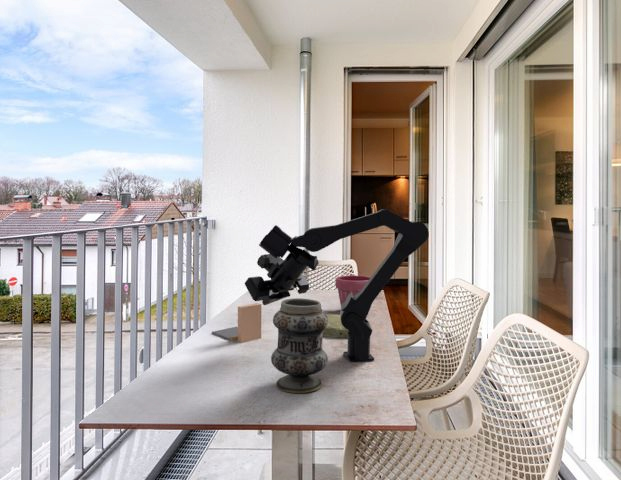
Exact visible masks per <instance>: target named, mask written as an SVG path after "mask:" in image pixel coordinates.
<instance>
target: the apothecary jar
mask: <svg viewBox="0 0 621 480" xmlns="http://www.w3.org/2000/svg"><path fill="white" fill-rule="evenodd" d="M326 314H327V313H325V311H323V309H322V304H321V301H319V300H315V299H311V298H305V297H304V298H303V297H300V298H297V297H296V298H293V297H292V298H285V299H282V301H281V303H280V308H279V310H278V311H276V313H274V315H273V317H272V323H273V326H274V327H275V328H277V331H278V335H277V348H276V349H274V350H273V352H272V353H271V357H270V359H271V361H270V362H271V364H272V366H273V367H274V368H275V369H276V370H277V371H279V372H280V373H283V374H285V375H283V376H282V377H281V378H279V379H278V380H277V381H276V384H275V385H276V387H277V388H278V389H279V390H280V391H282V392H286V393H291V394H308V393H312V392H317V391H318V390H319V389H322V387H323V381H322V380H321V379H320V378H319V377H316V376H314V374H317V373H319V372H321V371H323V369H325V367H326V366H327V364H328V362H329V361H328V360H329V357H328V354H327V352H326V351H325V350H324V349H323V337H324V335H323V329H325V328H326V326H327V325H328V317H327V315H326Z"/></svg>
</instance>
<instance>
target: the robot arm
mask: <svg viewBox="0 0 621 480" xmlns="http://www.w3.org/2000/svg"><path fill="white" fill-rule="evenodd" d="M382 226H385V227H386V228H388V229H390V230H391V231H393V232H395V233H397V237H396V239H395V241H394V244H393V246H392V248H391V250H390V251H389V252H388V254H387V255H385V258H384V259H383V260H382V262H381V263H380V264H379V266H378V267H377V268H376V269H375V271H374V272H373V273H372V275H371V276H370V277H371V278H370V279H369V280H368V282H367V283H366V284H365V286H364V287H363V288H362V290H361V291H360V292H359V293H358V294H356V295H355V296H353V295H352V294H351V293H349V295H348V297H347V299H346V301H345V302H344V303H342V304H340V310H339V315H340V318H341V323H342V325H343V326H344V327H345V328H346V329H348V330H349V332H348V338H347V351H343V352H342V354H343V356H345V358H346V359H347V360H348V361H349V362H365V361H375V357H374V356H373V355H372V354H371V336H372V333H373V329H372V326H371V324H370V321H369V320H368V319H367V317H368V315H369V312H370V311H371V308H372V305H373V303H374V301H376V299H377V298H378V296H379V295H380V293H381V292H382V291H383V289H384V288H385V287H386V286H387V284H388V282H389V281H390V280H391V279H392V278H393V276H394V275H395V274H396V272H397V271H398V269H400V267H401V265H402V264H403V263H404V262H405V260H406V259H407V258H409V256H411V255H412V254H413V253H415V252H416V251H417V250H418V249H420V247H421V246H423V245H424V244H425V243H426V242H427V240H428V239H429V237H430V236H429V235H430V234H429V228H428V227H427V226H426V224H425V223H423V222H421V221H415V220H414V221H412V220H411V221H410V220H409V219H406V218H404V217H402V216H400V215H398V214H395V213H394V212H393V211H391V210H390V209H386V208H385V209H380V210H378V211H376V212H372V213H370V214H367V215H363V216H361V217H358V218H353V219H351V220H348V221H345V222H342V223H339V224H335V225H334V224H333V225H326V226H317V227H312V228H309V229H307V230H306V231H305V232H304V233H303V234H301V235H298V236H297V235H295V236H294V237H291V236H290V234H289V235H288V234H287V233H286V232H285V231H284V230H282V228H281V227H280V226H279V225H277V224H275V225H273V227H272V229H271V230H270V231H269V232H268V233H267V234H266V235H264V237H263V238H262V239H261V241H260V242H259V244H258V246H259V247H260V248H261V249H263V250H264V251H265V252H266V253H267V254H266V253H265V254H261V255H260V256H259V257H258V258H257V262H256V264H257V266H258V267H260V268H261V269H264V270H265V271H266V272H267V273H266V276H267V277H268V279H266V280H264V278H263V277H262V276H251V277H248V278H247V279H246V280H245V282H244V286H245V288H246V289H247V291H248V293H249V295H250V297H251V298H252V300H253V301H254V302H259V301H260V302H262V305H263V306H267V305H270V304H272V303H275V302H278V301H281V300H284V299H287V298H290V296H291V293H290V291H293V290H294V289H296V288H298V289H297V293H298V294H299V295H301V294H305V293H307V292H308V291H309V289H310V283H309V282H308V280H307V279H306V277H305V275H304V274H303V273H304V272H305V270H306V269H307V268H309V269H311V270H312V271H315V270H316V269H317V267H318V265H319V264H320V263H319V260H318V256H317V255H312V254H311V253H316V252H319V251H321V250H323V249H325V248H327V247H329V246H331V245H332V244H334V243H336V242H338V241H340V240H341V239H344V238H348V237H351V236H354V235H358V234H361V233H364V232H367V231H369V230H373V229H376V228H379V227H382ZM302 248H305V249H306V250H305V249H302ZM308 251H309V252H308ZM288 252H289V253H288ZM310 252H311V253H310ZM286 254H287V256H286V257H285V259H283V258H284V256H285V255H286Z"/></svg>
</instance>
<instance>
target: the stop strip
mask: <svg viewBox="0 0 621 480" xmlns="http://www.w3.org/2000/svg"><path fill="white" fill-rule="evenodd" d="M229 342H230V343H231V342H232V343H233V342H238V335H235V336H231V337H230V340H229Z"/></svg>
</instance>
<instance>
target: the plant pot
mask: <svg viewBox="0 0 621 480" xmlns="http://www.w3.org/2000/svg"><path fill="white" fill-rule="evenodd" d="M370 278H371V276H367V275H355V274H354V275H351V274H350V275H340V276H336V277H335V282H334V283H335V288H336V289H337V293H338V299H339V302H340V305H341V304H342V303H344V302H345V301H346V299H347V297H348V295H349V293H351V294H352V295H353V296H355V295H356V294H358V293H359V292H360V291H361V290H362V288H363V287H364V286H365V284H366V283H367V282H368V280H369V279H370Z"/></svg>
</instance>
